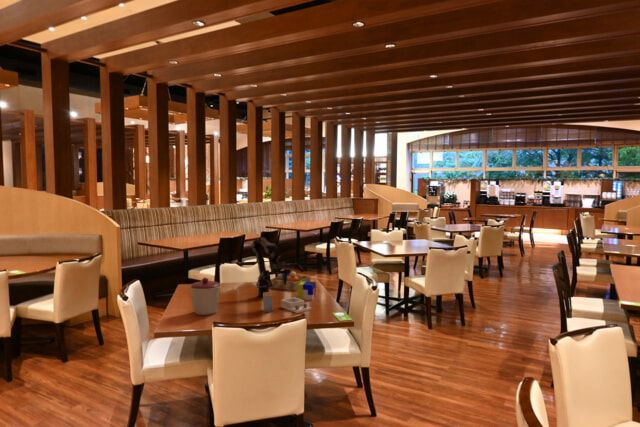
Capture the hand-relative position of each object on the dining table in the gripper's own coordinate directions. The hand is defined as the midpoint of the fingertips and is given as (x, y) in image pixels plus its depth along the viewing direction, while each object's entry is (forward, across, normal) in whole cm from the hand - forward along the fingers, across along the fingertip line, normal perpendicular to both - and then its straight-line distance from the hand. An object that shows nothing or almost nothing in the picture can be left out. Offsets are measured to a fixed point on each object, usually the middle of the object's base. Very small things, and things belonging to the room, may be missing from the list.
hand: (278, 285), depth 276 cm
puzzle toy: (+5, +26, +17) cm, 31 cm away
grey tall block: (+14, -9, +2) cm, 17 cm away
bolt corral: (-14, +29, +48) cm, 58 cm away
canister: (+8, -44, +12) cm, 46 cm away
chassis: (+16, +8, 0) cm, 18 cm away
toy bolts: (-14, +30, +49) cm, 59 cm away
